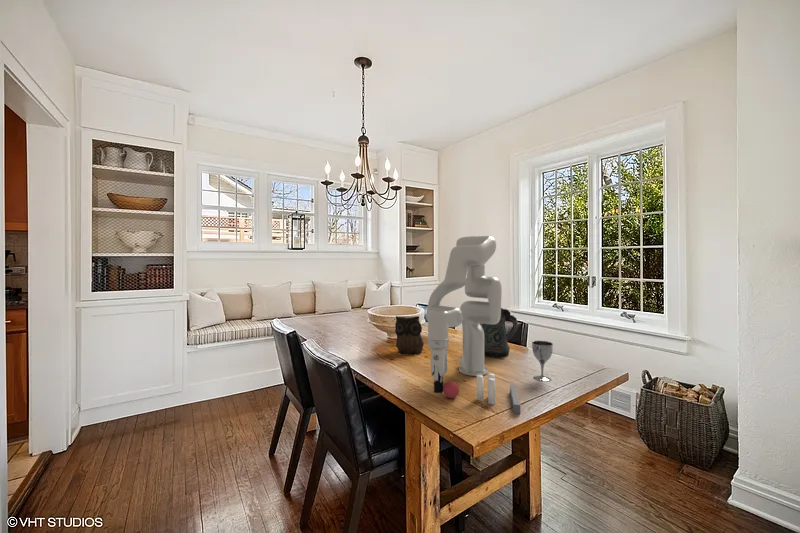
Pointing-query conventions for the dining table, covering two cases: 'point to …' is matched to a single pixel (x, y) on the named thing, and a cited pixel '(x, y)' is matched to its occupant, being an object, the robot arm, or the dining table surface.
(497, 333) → the beer stein
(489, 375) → the back left pin
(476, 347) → the robot arm
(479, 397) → the front pin
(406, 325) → the owl
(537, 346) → the wine glass
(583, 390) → the dining table surface
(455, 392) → the ball
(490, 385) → the back right pin
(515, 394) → the back wall
